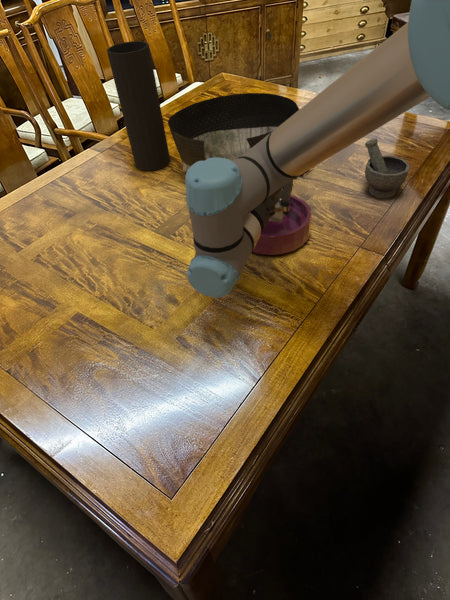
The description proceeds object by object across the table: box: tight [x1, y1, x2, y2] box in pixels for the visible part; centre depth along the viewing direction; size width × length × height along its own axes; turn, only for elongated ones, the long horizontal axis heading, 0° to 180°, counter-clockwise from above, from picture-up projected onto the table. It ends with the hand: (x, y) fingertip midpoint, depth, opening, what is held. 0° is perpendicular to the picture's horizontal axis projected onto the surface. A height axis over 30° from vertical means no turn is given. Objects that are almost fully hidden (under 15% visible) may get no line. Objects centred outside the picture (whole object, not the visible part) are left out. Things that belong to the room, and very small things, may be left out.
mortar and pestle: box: [364, 138, 411, 199], centre depth 98 cm, size 11×9×12 cm
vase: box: [106, 40, 171, 172], centre depth 112 cm, size 10×10×30 cm
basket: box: [167, 92, 300, 174], centre depth 108 cm, size 28×35×16 cm
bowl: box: [252, 194, 313, 256], centre depth 92 cm, size 17×17×6 cm
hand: (279, 161), depth 87 cm, fingers closed on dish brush, 2 cm apart
